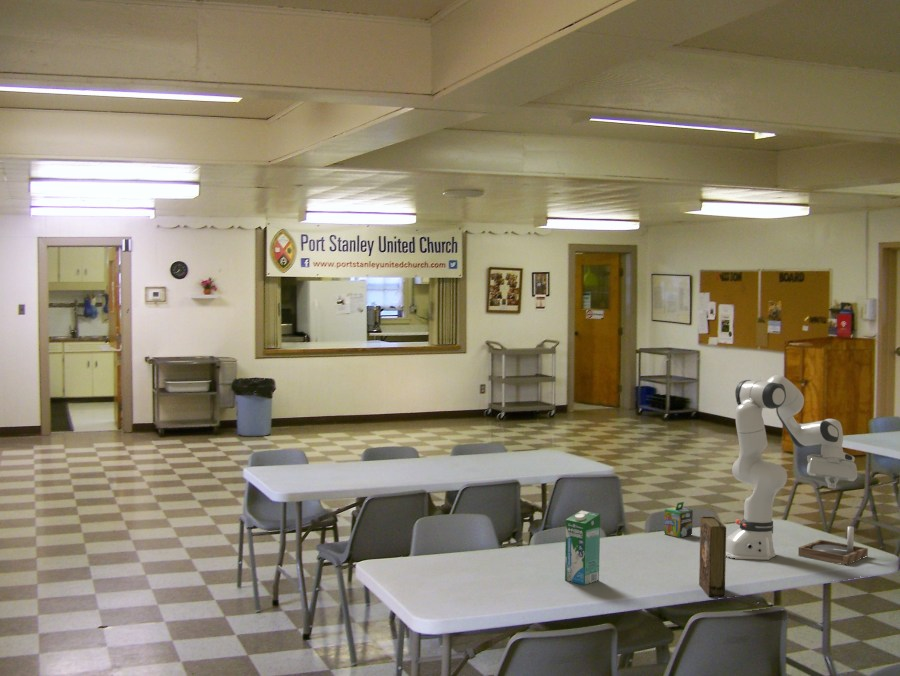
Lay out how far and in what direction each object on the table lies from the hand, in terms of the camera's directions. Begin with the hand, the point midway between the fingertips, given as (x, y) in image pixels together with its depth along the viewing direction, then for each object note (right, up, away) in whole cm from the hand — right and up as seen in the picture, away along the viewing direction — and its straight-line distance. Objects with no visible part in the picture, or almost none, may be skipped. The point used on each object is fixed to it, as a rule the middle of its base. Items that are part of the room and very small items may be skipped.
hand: (831, 487), depth 416 cm
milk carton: (-113, -27, -52) cm, 127 cm away
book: (-68, -27, -63) cm, 97 cm away
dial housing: (-4, -26, -12) cm, 29 cm away
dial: (-4, -25, -12) cm, 28 cm away
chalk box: (-60, -25, +23) cm, 69 cm away
